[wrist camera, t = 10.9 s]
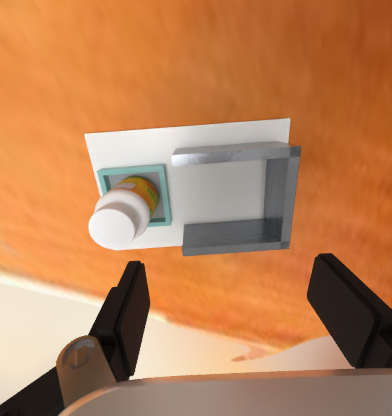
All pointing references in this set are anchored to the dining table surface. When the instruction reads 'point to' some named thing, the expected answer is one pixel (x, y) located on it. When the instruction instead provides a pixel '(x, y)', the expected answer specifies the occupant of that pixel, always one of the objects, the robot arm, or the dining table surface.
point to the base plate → (187, 174)
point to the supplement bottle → (124, 212)
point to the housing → (273, 204)
